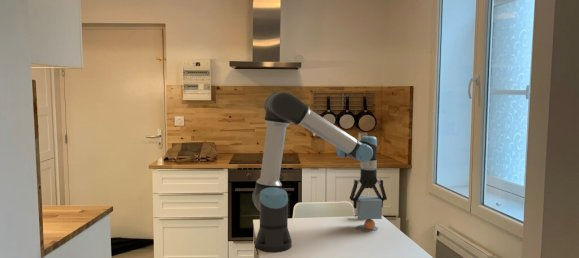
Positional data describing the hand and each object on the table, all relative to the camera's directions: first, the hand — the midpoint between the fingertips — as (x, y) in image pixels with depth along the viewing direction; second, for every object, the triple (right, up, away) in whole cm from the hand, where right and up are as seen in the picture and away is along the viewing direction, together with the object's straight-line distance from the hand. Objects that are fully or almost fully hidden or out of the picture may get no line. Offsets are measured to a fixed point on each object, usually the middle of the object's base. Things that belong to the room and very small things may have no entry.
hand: (367, 214), depth 197 cm
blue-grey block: (0, -1, 0) cm, 1 cm away
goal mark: (0, -7, 0) cm, 7 cm away
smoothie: (+3, -6, +17) cm, 18 cm away
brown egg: (0, -4, -2) cm, 5 cm away
